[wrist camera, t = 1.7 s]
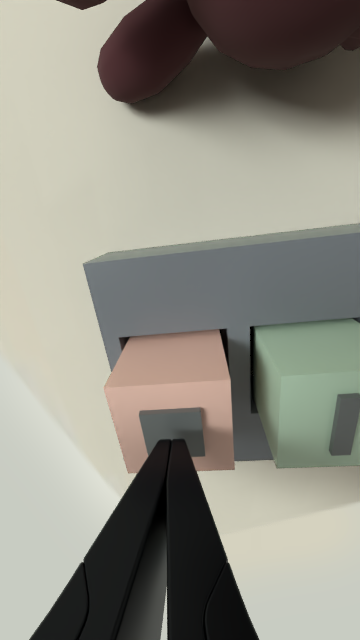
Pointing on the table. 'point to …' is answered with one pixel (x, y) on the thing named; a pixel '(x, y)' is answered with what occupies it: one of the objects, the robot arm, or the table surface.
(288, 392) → the key sage
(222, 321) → the keypad
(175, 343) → the key coral
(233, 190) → the table surface
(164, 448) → the robot arm
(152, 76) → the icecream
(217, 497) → the table surface
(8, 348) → the table surface
